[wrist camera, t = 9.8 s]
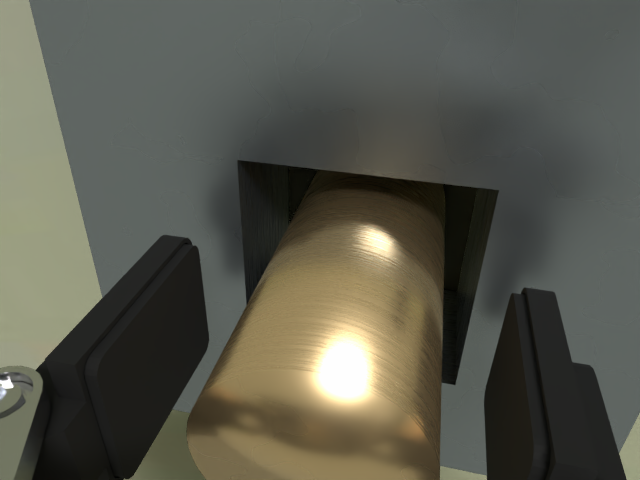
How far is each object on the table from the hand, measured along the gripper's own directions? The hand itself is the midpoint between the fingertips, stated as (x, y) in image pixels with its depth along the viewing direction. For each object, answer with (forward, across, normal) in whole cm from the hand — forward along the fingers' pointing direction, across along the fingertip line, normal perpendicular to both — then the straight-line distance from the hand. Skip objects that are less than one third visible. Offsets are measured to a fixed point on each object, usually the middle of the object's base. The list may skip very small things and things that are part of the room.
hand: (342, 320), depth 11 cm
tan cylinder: (+5, 0, 0) cm, 5 cm away
